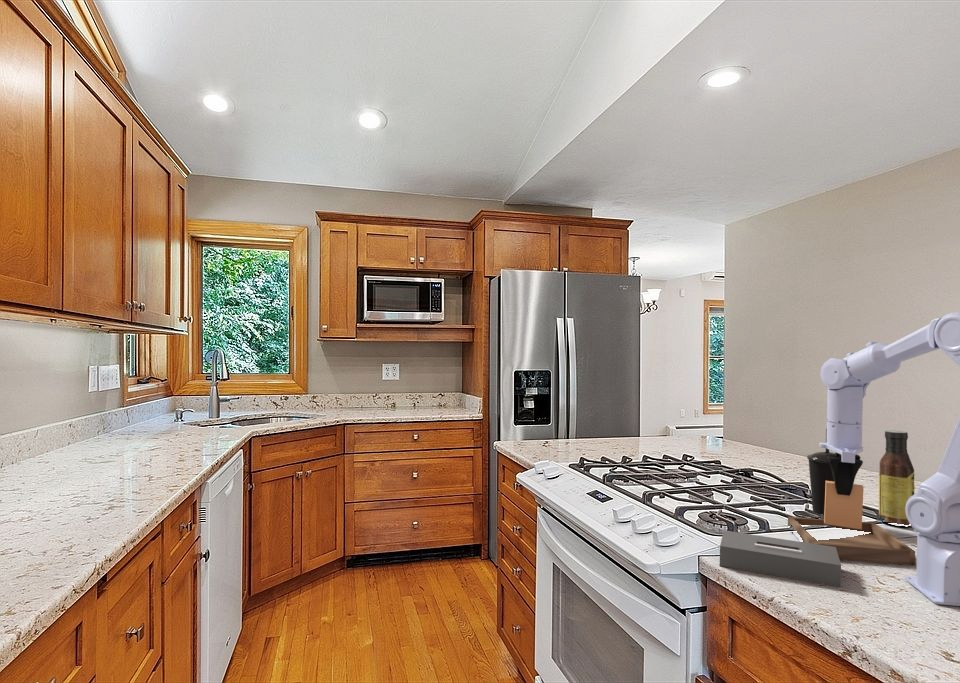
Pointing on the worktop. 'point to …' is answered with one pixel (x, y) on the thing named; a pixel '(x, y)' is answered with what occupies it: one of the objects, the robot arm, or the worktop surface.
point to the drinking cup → (819, 478)
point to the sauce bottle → (895, 478)
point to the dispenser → (781, 558)
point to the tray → (860, 543)
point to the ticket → (843, 506)
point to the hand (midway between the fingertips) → (842, 493)
